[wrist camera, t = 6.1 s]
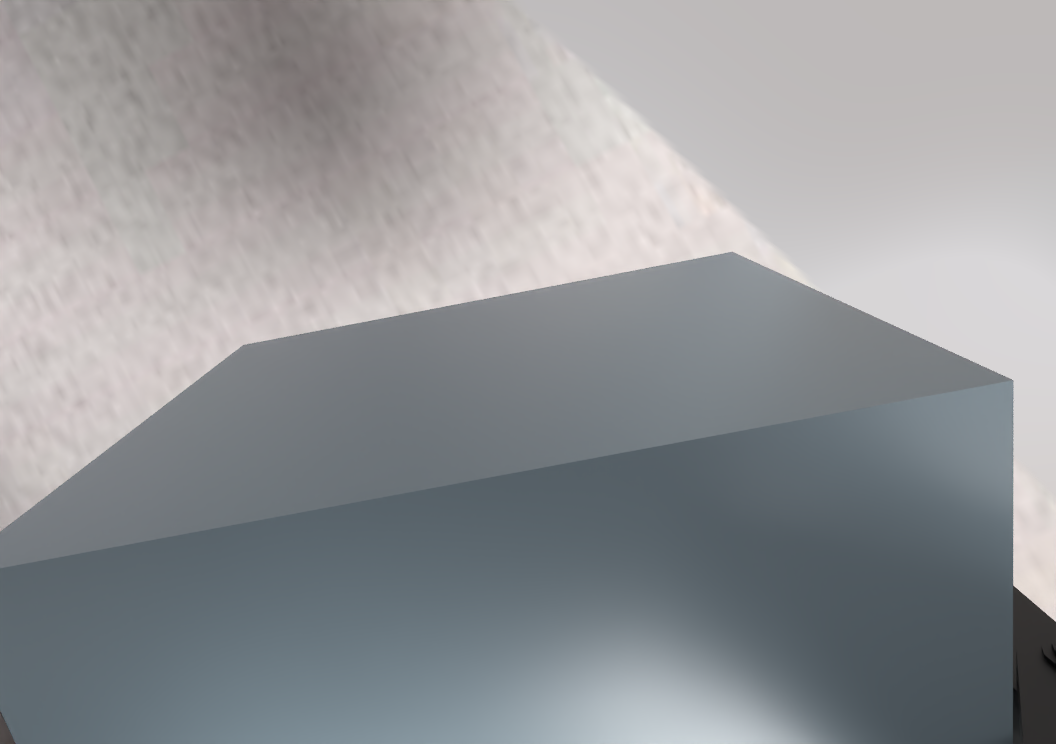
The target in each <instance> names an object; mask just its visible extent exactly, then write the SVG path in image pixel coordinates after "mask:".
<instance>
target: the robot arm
mask: <svg viewBox="0 0 1056 744" xmlns="http://www.w3.org/2000/svg"><path fill="white" fill-rule="evenodd" d="M1013 744H1056V622H1055V621H1054V620H1053V619H1052V618H1050V617H1049V616H1048V615H1047V614H1046V613H1045V612H1043V611H1042V610H1041V609H1040V608H1039V607H1038V606H1036V605H1035V604H1034V603H1033V602H1032V601H1031V600H1029V599H1028V598H1027V597H1026V596H1025V595H1024V594H1022V593H1021V592H1020V591H1019V590H1018V589H1017V588H1015V587H1014V586H1013Z"/></svg>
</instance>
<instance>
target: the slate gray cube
mask: <svg viewBox="0 0 1056 744" xmlns="http://www.w3.org/2000/svg"><path fill="white" fill-rule="evenodd" d="M0 712H1V714H2V716H3V718H4V720H5V722H6V724H7V726H8V729H9V731H10V733H11V735H12V737H13V739H14V741H15V743H16V744H1013V380H1012V379H1009V378H1007V377H1005V376H1003V375H1000V374H998V373H996V372H994V371H992V370H990V369H987V368H985V367H983V366H981V365H979V364H976V363H974V362H972V361H970V360H968V359H966V358H963V357H961V356H959V355H957V354H955V353H952V352H950V351H948V350H946V349H944V348H942V347H939V346H937V345H935V344H933V343H930V342H928V341H926V340H924V339H922V338H920V337H917V336H915V335H913V334H911V333H909V332H906V331H904V330H902V329H900V328H898V327H896V326H893V325H891V324H889V323H887V322H884V321H882V320H880V319H878V318H876V317H874V316H871V315H869V314H867V313H865V312H862V311H861V310H858V309H856V308H854V307H852V306H849V305H847V304H845V303H843V302H841V301H839V300H836V299H834V298H832V297H830V296H828V295H826V294H823V293H821V292H819V291H817V290H815V289H812V288H810V287H808V286H806V285H804V284H801V283H799V282H797V281H795V280H793V279H790V278H788V277H786V276H784V275H782V274H780V273H777V272H775V271H773V270H771V269H769V268H766V267H764V266H762V265H760V264H758V263H755V262H753V261H751V260H749V259H747V258H745V257H742V256H740V255H738V254H736V253H734V252H730V253H724V254H719V255H714V256H709V257H703V258H698V259H693V260H688V261H682V262H677V263H672V264H667V265H661V266H656V267H651V268H646V269H640V270H635V271H630V272H625V273H619V274H614V275H609V276H604V277H598V278H593V279H588V280H583V281H577V282H572V283H567V284H562V285H556V286H551V287H546V288H541V289H535V290H530V291H525V292H520V293H514V294H509V295H504V296H499V297H493V298H488V299H483V300H478V301H472V302H467V303H462V304H457V305H451V306H446V307H441V308H436V309H430V310H425V311H420V312H415V313H410V314H404V315H399V316H394V317H389V318H383V319H378V320H373V321H368V322H362V323H357V324H352V325H347V326H341V327H336V328H331V329H326V330H320V331H315V332H310V333H305V334H299V335H294V336H289V337H284V338H278V339H273V340H268V341H263V342H257V343H252V344H247V345H243V346H242V347H240V348H239V349H238V350H236V351H235V352H234V353H232V354H231V355H230V356H229V357H227V358H226V359H225V360H223V361H222V362H221V363H219V364H218V365H217V366H216V367H214V368H213V369H212V370H210V371H209V372H208V373H206V374H205V375H204V376H203V377H201V378H200V379H199V380H197V381H196V382H195V383H193V384H192V385H191V386H190V387H188V388H187V389H186V390H184V391H183V392H182V393H180V394H179V395H178V396H177V397H175V398H174V399H173V400H171V401H170V402H169V403H167V404H166V405H165V406H163V407H162V408H161V409H160V410H158V411H157V412H156V413H154V414H153V415H152V416H150V417H149V418H148V419H147V420H145V421H144V422H143V423H141V424H140V425H139V426H137V427H136V428H135V429H134V430H132V431H131V432H130V433H128V434H127V435H126V436H124V437H123V438H122V439H121V440H119V441H118V442H117V443H115V444H114V445H113V446H111V447H110V448H109V449H108V450H106V451H105V452H104V453H102V454H101V455H100V456H98V457H97V458H96V459H95V460H93V461H92V462H91V463H89V464H88V465H87V466H85V467H84V468H83V469H82V470H80V471H79V472H78V473H76V474H75V475H74V476H72V477H71V478H70V479H69V480H67V481H66V482H65V483H63V484H62V485H61V486H59V487H58V488H57V489H56V490H54V491H53V492H52V493H50V494H49V495H48V496H46V497H45V498H44V499H43V500H41V501H40V502H39V503H37V504H36V505H35V506H33V507H32V508H31V509H30V510H28V511H27V512H26V513H24V514H23V515H22V516H20V517H19V518H18V519H17V520H15V521H14V522H13V523H11V524H10V525H9V526H7V527H6V528H5V529H4V530H2V531H1V532H0Z"/></svg>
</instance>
